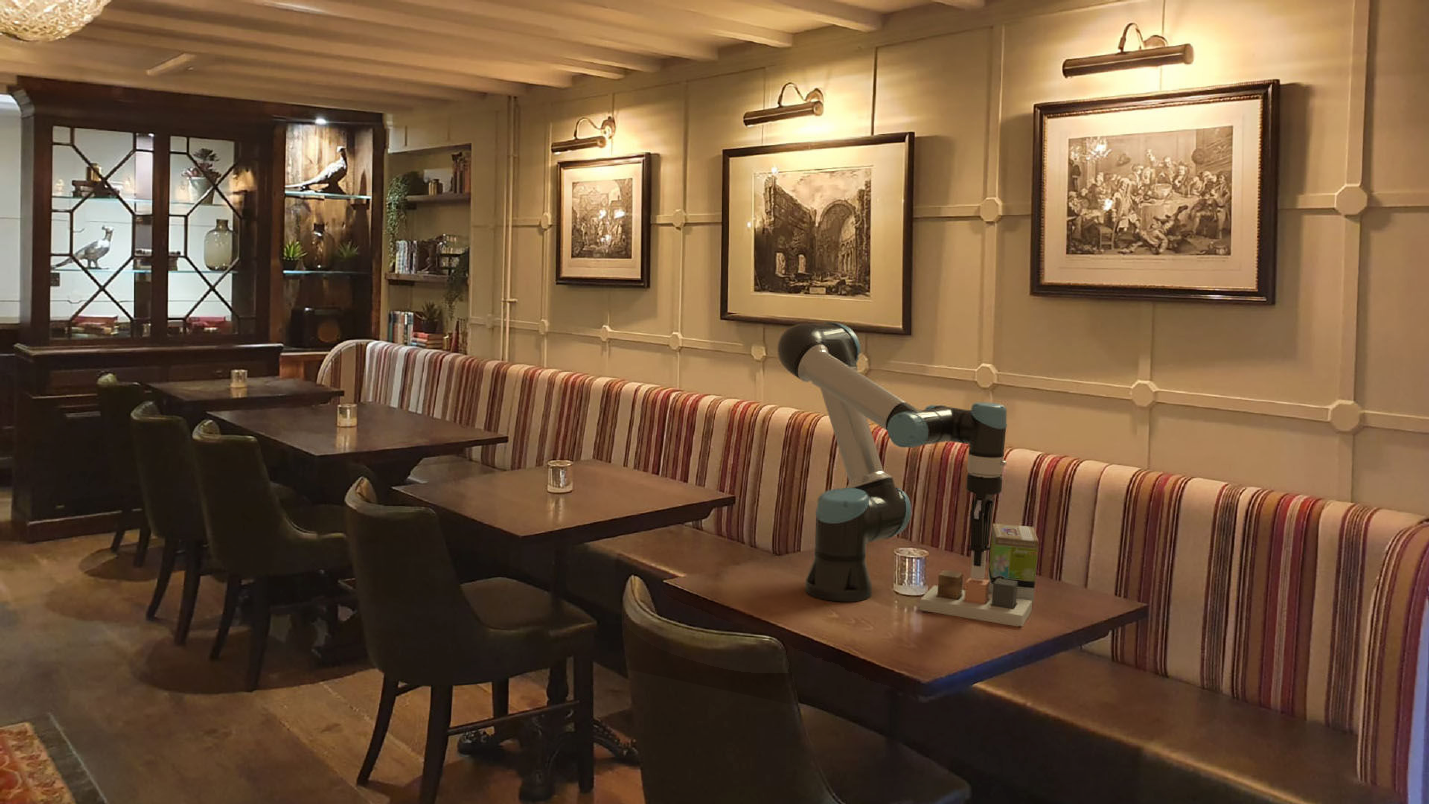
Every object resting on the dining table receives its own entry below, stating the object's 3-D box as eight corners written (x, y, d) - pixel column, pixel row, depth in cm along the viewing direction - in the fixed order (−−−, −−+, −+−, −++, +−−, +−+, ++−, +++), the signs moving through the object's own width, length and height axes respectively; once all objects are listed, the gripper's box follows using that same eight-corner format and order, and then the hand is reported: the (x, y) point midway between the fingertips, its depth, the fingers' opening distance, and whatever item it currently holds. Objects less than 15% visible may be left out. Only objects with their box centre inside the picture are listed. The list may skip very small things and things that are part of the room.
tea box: (1035, 603, 252) (1039, 540, 250) (989, 599, 254) (993, 536, 252) (1029, 585, 267) (1034, 525, 265) (987, 581, 269) (991, 521, 267)
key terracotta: (964, 604, 244) (965, 582, 243) (968, 598, 248) (970, 577, 247) (984, 607, 242) (985, 585, 241) (988, 602, 246) (989, 580, 245)
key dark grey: (991, 605, 241) (993, 583, 240) (995, 600, 245) (997, 578, 244) (1012, 608, 239) (1014, 586, 239) (1016, 603, 243) (1017, 581, 242)
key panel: (919, 610, 244) (920, 599, 244) (933, 595, 255) (934, 585, 255) (1021, 627, 235) (1022, 615, 235) (1031, 611, 246) (1032, 600, 245)
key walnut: (937, 596, 246) (938, 574, 245) (942, 591, 250) (943, 570, 249) (957, 599, 244) (958, 577, 244) (961, 594, 248) (963, 573, 248)
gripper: (996, 481, 234) (988, 589, 237) (1008, 471, 245) (1000, 574, 248) (960, 476, 237) (953, 583, 240) (974, 467, 248) (966, 569, 252)
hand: (977, 579), depth 244 cm, fingers closed
